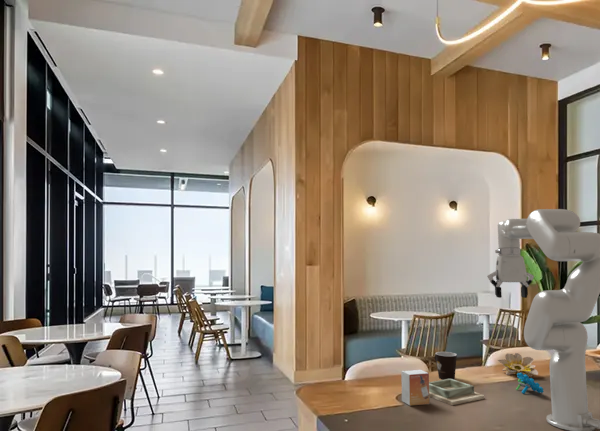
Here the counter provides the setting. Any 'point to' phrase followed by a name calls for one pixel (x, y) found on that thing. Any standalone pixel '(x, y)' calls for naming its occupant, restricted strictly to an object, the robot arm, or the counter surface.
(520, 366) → the decorative flower
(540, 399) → the counter surface
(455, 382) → the jig
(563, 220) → the robot arm
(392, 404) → the counter surface
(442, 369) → the coffee mug
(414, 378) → the small box
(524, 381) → the gear
